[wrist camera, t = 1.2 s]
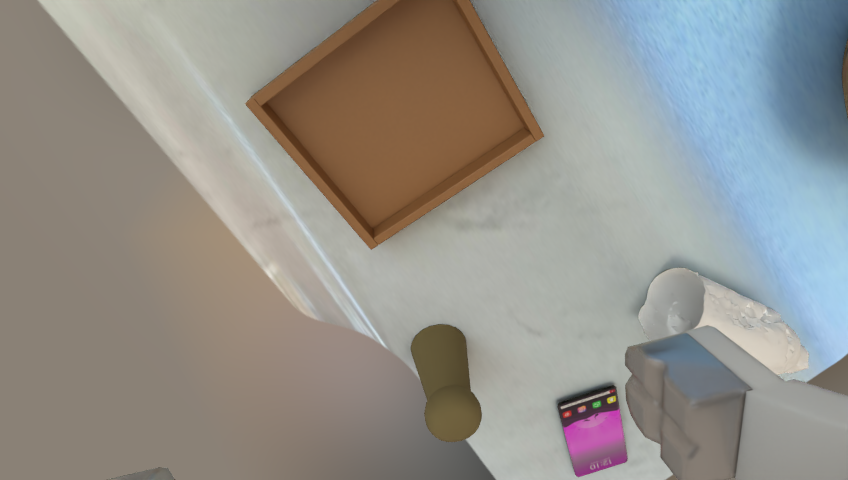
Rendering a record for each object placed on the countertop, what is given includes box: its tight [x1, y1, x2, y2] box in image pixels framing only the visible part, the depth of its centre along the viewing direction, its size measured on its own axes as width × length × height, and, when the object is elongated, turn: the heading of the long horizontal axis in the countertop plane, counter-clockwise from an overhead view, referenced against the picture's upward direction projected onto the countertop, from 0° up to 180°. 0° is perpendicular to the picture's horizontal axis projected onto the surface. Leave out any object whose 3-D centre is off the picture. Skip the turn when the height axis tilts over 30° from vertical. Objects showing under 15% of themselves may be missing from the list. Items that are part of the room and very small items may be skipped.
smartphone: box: [558, 385, 628, 477], centre depth 62 cm, size 7×15×1 cm, turn 18°
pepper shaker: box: [411, 324, 482, 442], centre depth 48 cm, size 6×6×11 cm
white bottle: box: [638, 268, 809, 375], centre depth 51 cm, size 8×19×8 cm, turn 63°
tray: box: [245, 0, 544, 249], centre depth 39 cm, size 18×16×3 cm
